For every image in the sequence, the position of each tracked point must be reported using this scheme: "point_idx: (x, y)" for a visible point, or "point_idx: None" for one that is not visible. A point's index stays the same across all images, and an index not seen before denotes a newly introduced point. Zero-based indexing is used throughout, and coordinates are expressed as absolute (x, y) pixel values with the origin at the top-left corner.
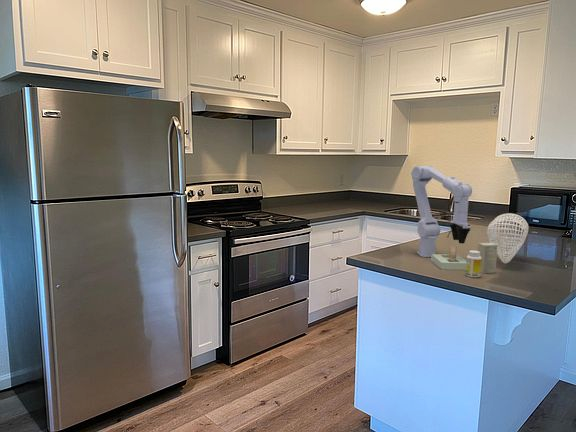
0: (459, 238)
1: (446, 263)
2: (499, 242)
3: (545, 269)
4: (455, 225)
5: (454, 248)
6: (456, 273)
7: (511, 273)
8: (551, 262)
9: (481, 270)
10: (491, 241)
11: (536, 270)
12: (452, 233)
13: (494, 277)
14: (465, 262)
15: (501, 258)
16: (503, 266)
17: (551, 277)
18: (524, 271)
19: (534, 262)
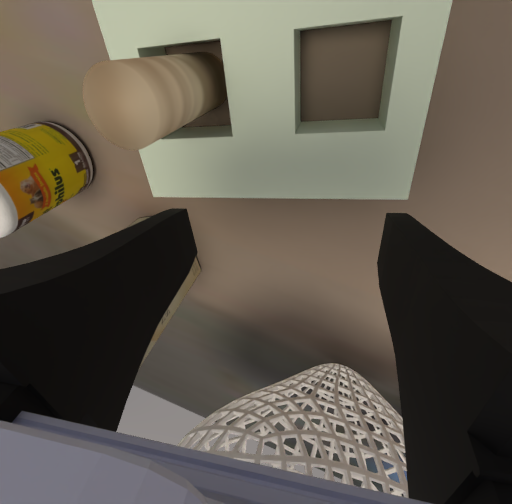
0: (127, 232)
1: (98, 9)
2: (195, 429)
3: (262, 411)
4: (458, 451)
5: (92, 114)
6: (66, 73)
7: (179, 317)
8: (353, 460)
9: (134, 223)
10: (261, 423)
11: (243, 390)
12: (440, 250)
13: (91, 240)
14: (164, 175)
15: (310, 369)
16: (283, 339)
17: (172, 380)
18: (221, 360)
19: (354, 434)
